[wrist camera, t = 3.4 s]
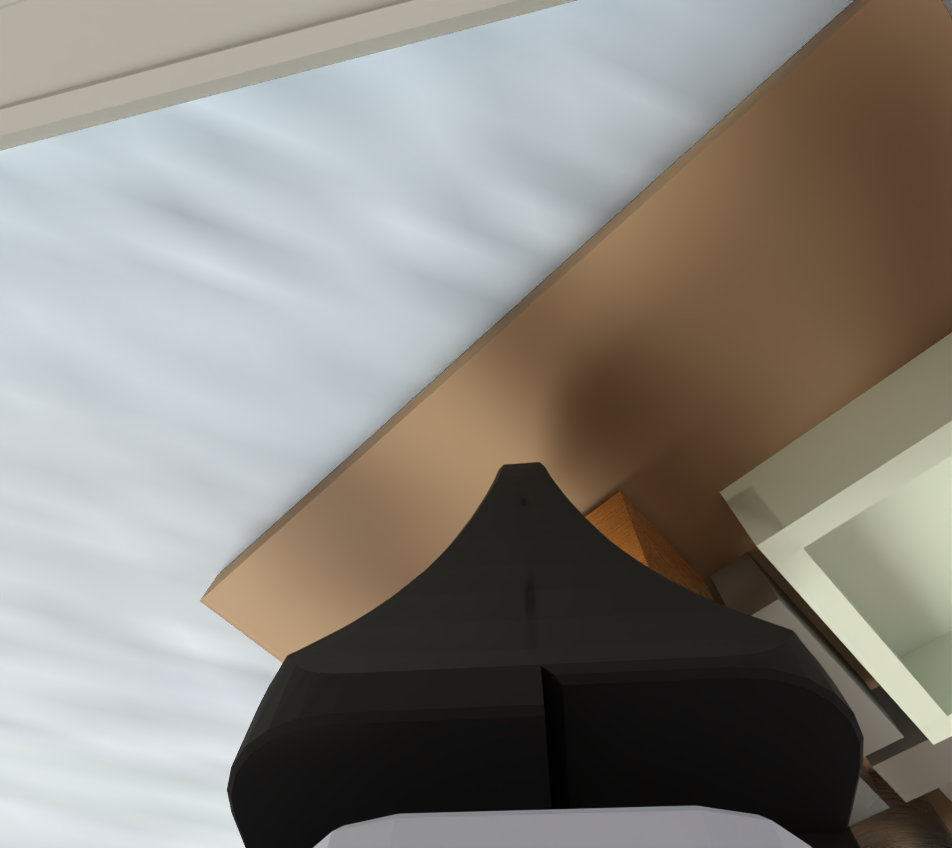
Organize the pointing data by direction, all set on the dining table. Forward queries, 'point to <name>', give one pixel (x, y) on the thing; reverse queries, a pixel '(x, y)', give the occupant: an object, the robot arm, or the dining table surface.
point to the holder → (678, 360)
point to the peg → (902, 823)
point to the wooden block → (659, 555)
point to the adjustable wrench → (192, 50)
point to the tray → (872, 530)
